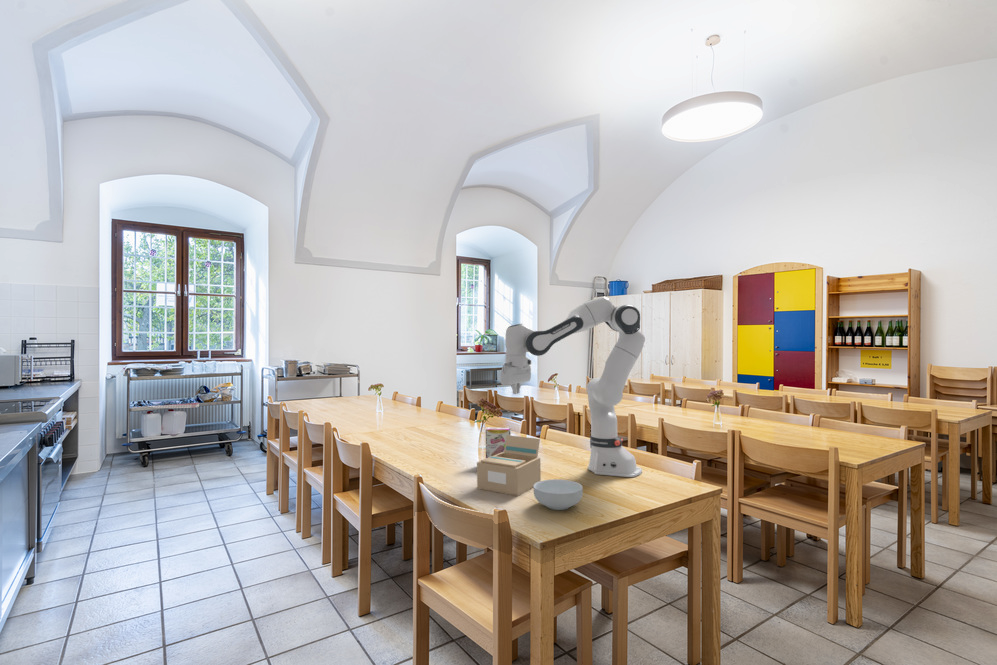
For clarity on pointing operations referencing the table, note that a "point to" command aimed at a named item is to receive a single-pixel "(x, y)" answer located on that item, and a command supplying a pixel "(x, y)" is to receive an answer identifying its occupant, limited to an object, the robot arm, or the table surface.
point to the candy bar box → (496, 440)
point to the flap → (503, 461)
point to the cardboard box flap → (522, 446)
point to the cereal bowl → (558, 493)
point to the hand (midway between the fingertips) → (516, 393)
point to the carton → (509, 475)
